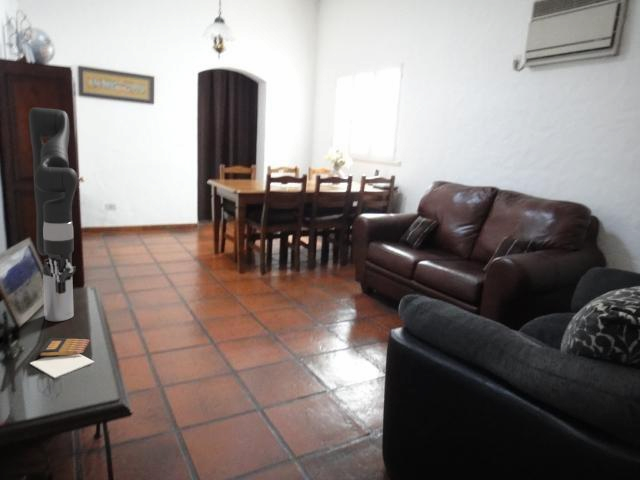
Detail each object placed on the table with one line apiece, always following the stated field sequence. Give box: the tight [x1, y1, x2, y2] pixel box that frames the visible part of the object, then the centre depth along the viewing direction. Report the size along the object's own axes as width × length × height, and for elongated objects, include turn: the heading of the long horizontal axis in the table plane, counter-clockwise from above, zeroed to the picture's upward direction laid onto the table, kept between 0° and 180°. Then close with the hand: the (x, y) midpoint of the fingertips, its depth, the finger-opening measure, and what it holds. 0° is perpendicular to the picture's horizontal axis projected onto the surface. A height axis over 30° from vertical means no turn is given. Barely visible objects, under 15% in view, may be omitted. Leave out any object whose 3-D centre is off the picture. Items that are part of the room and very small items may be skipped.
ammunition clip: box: [39, 337, 91, 358], centre depth 141 cm, size 11×2×12 cm
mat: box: [29, 353, 95, 379], centre depth 134 cm, size 13×12×1 cm
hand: (60, 292), depth 132 cm, fingers closed
